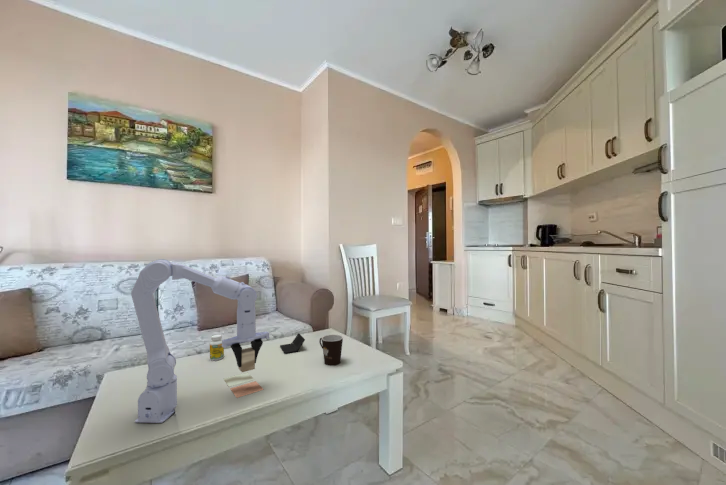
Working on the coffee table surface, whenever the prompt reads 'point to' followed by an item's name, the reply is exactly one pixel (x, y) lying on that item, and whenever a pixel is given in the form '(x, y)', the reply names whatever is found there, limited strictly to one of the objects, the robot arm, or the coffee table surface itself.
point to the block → (247, 360)
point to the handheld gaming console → (293, 345)
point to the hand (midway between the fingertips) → (246, 364)
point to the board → (242, 389)
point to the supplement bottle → (216, 348)
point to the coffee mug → (332, 349)
